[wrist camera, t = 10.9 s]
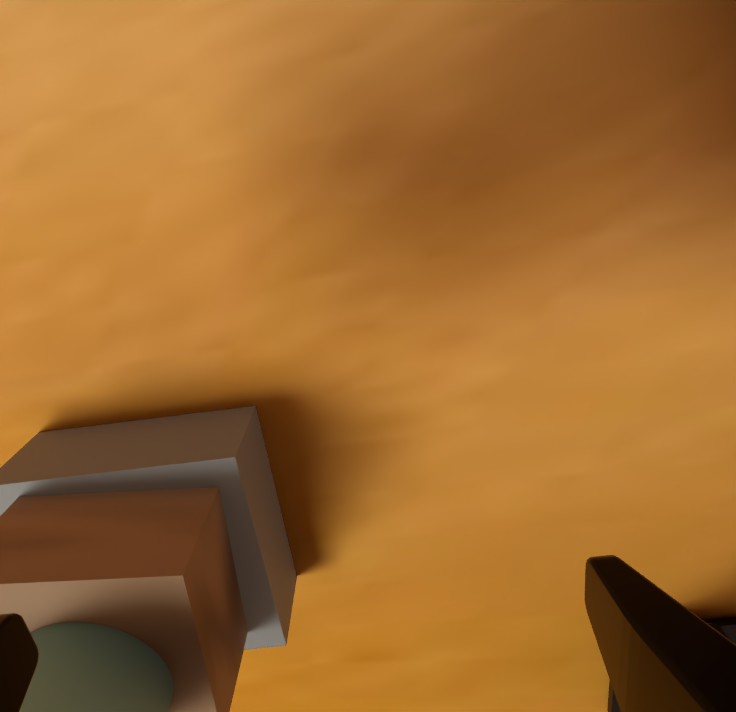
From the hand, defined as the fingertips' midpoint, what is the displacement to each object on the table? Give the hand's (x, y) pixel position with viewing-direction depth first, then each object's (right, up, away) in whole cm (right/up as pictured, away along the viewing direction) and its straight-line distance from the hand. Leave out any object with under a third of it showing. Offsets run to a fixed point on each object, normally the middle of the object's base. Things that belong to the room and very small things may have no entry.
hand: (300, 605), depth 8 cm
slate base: (-7, -3, +15) cm, 17 cm away
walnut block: (-7, -4, +12) cm, 14 cm away
